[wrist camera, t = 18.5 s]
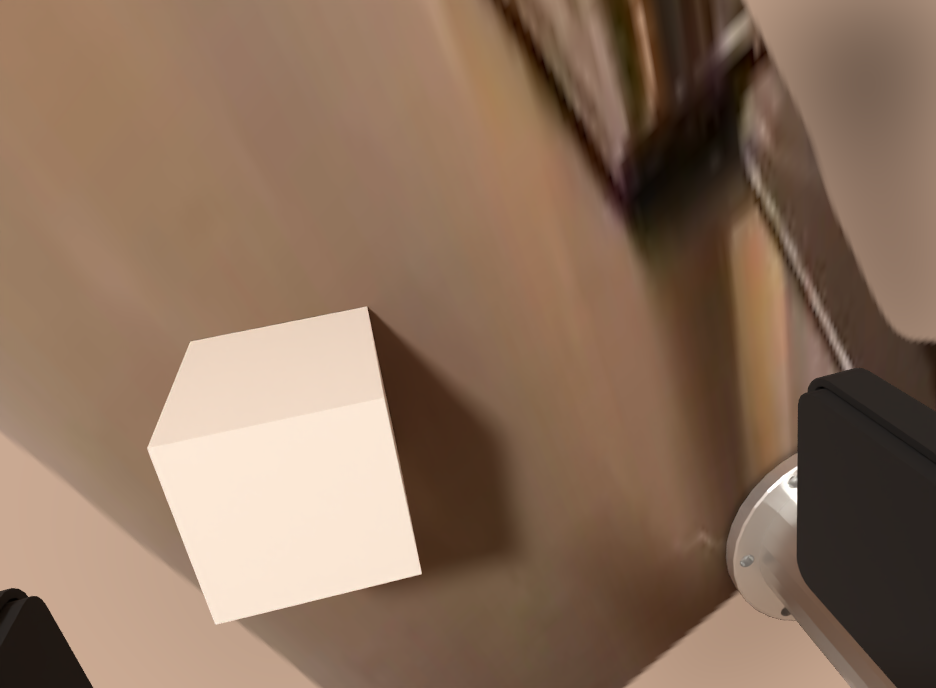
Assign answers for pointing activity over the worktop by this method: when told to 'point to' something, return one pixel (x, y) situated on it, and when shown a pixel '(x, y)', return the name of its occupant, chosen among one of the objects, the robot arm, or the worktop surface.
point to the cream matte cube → (285, 466)
